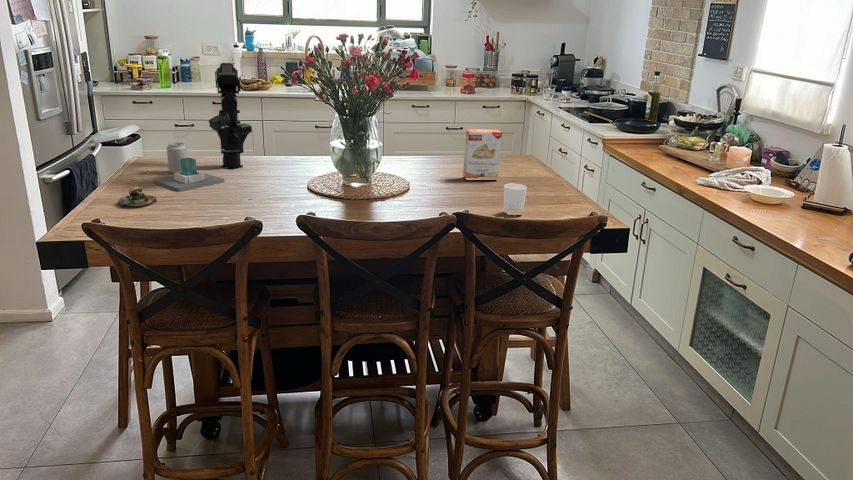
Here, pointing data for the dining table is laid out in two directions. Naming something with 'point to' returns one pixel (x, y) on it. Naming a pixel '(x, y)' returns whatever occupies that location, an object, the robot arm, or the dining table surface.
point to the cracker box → (482, 153)
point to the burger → (136, 198)
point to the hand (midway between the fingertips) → (231, 147)
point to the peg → (188, 166)
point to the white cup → (514, 196)
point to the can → (176, 156)
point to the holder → (188, 181)
